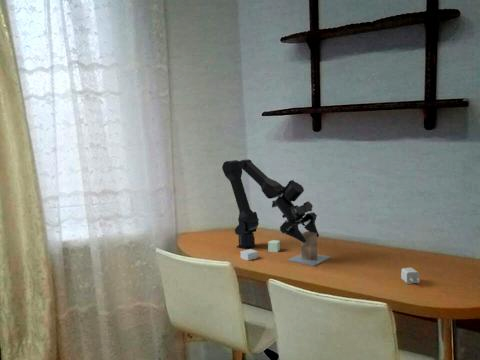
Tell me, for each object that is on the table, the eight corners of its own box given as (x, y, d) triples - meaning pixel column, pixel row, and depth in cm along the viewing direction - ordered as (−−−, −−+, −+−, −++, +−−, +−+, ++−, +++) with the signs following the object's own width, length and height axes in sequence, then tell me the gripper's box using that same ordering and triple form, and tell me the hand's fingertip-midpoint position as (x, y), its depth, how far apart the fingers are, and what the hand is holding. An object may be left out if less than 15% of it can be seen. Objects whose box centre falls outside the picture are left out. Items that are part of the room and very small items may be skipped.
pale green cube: (268, 251, 186) (267, 242, 185) (271, 249, 189) (270, 240, 189) (277, 252, 184) (277, 243, 184) (280, 249, 188) (279, 240, 187)
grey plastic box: (240, 258, 178) (240, 251, 178) (250, 256, 181) (250, 249, 181) (248, 261, 174) (247, 254, 174) (257, 258, 177) (257, 251, 177)
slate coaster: (287, 260, 172) (287, 259, 172) (305, 253, 181) (305, 251, 181) (313, 266, 164) (313, 264, 164) (330, 258, 173) (330, 256, 172)
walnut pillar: (301, 258, 172) (300, 233, 171) (307, 255, 175) (307, 231, 174) (311, 260, 169) (310, 235, 168) (317, 257, 172) (316, 232, 171)
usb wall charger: (413, 279, 147) (413, 267, 146) (422, 286, 140) (422, 274, 139) (401, 279, 146) (401, 268, 146) (410, 287, 140) (410, 275, 139)
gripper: (285, 199, 165) (310, 231, 159) (312, 192, 179) (336, 222, 173) (269, 217, 171) (293, 249, 165) (297, 209, 185) (320, 238, 179)
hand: (311, 239), depth 170 cm, fingers open, 9 cm apart
